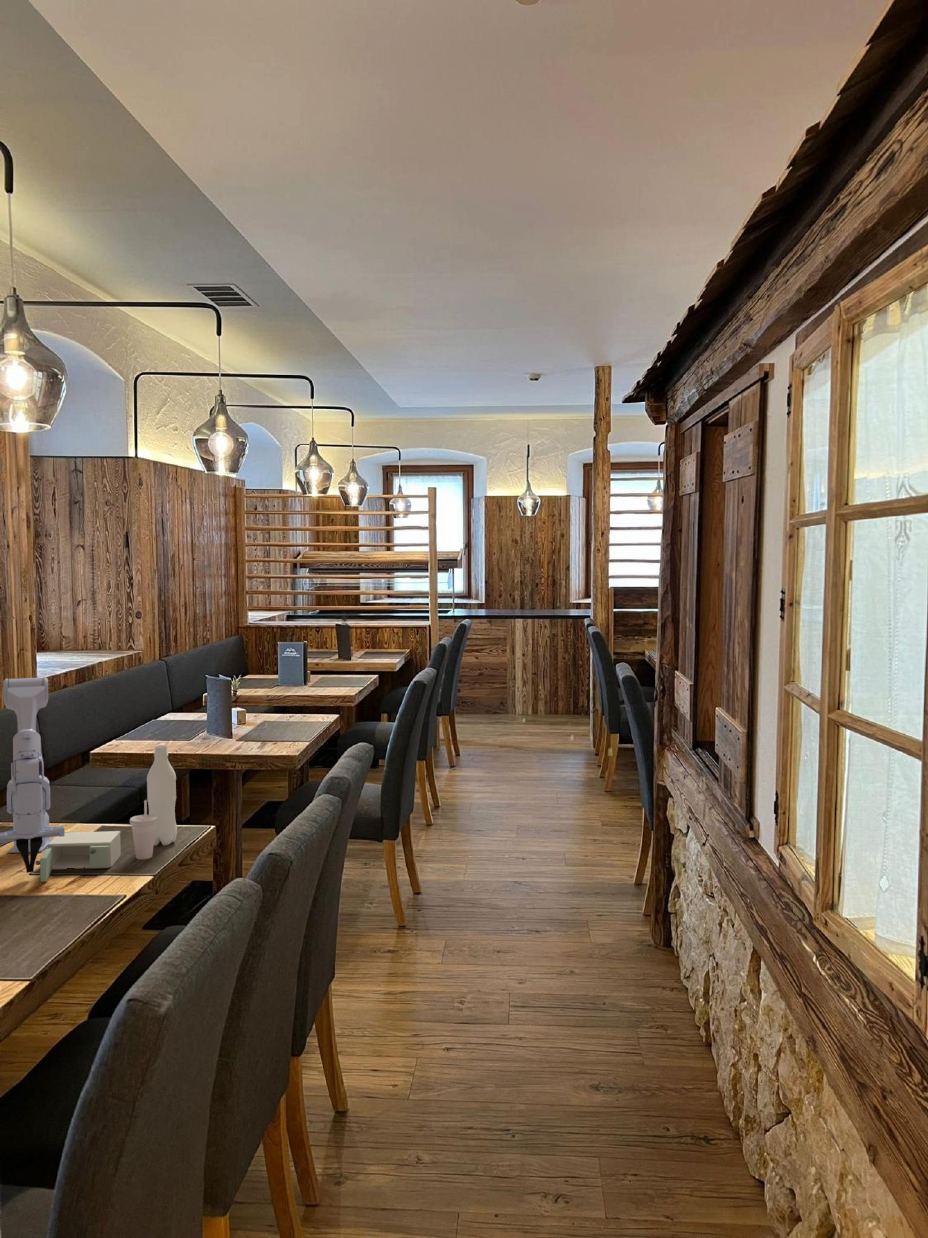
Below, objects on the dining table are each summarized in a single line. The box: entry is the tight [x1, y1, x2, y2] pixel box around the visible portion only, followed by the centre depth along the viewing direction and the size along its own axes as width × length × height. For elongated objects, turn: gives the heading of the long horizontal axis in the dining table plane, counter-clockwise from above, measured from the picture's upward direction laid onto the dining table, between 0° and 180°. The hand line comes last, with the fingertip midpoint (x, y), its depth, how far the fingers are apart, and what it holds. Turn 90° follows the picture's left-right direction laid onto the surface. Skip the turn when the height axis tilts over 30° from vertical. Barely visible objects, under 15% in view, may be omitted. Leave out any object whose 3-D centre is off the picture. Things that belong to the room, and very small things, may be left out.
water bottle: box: [146, 744, 178, 846], centre depth 230 cm, size 7×7×25 cm
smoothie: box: [129, 799, 158, 860], centre depth 220 cm, size 6×6×14 cm
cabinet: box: [47, 830, 122, 870], centre depth 215 cm, size 11×14×6 cm
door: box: [35, 846, 53, 883], centre depth 206 cm, size 2×9×5 cm, turn 17°
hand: (29, 871), depth 204 cm, fingers closed
